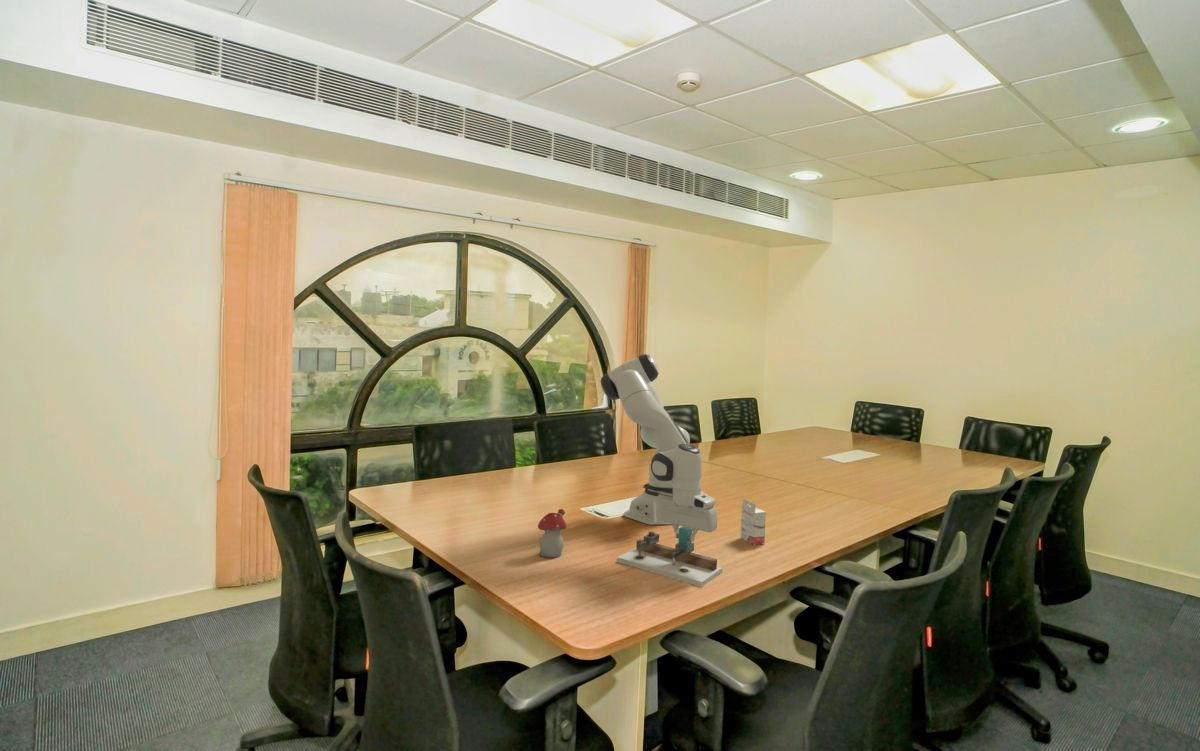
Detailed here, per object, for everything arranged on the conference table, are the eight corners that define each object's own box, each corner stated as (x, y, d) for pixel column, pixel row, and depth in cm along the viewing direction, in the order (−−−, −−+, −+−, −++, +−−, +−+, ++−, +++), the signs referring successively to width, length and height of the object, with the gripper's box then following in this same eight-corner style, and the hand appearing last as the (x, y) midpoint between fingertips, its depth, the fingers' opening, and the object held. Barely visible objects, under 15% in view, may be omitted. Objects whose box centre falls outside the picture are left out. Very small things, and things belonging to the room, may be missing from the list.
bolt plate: (616, 561, 190) (617, 556, 190) (640, 550, 202) (640, 545, 202) (701, 586, 173) (702, 581, 173) (722, 572, 184) (722, 567, 184)
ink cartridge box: (765, 544, 212) (767, 503, 211) (753, 545, 210) (755, 504, 209) (751, 536, 220) (753, 497, 219) (739, 537, 218) (741, 498, 217)
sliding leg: (667, 563, 183) (668, 532, 183) (682, 554, 192) (683, 525, 191) (678, 566, 181) (679, 535, 181) (693, 557, 189) (694, 527, 189)
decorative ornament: (565, 551, 198) (566, 507, 197) (566, 558, 192) (567, 512, 191) (537, 551, 197) (538, 507, 196) (537, 558, 191) (538, 512, 190)
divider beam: (625, 554, 192) (626, 534, 192) (641, 546, 201) (642, 527, 200) (704, 577, 176) (705, 555, 176) (718, 567, 184) (719, 546, 184)
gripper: (653, 492, 191) (651, 534, 191) (711, 504, 178) (709, 549, 179) (663, 488, 196) (661, 530, 196) (720, 500, 184) (718, 544, 184)
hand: (684, 539), depth 188 cm, fingers closed on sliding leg, 3 cm apart
